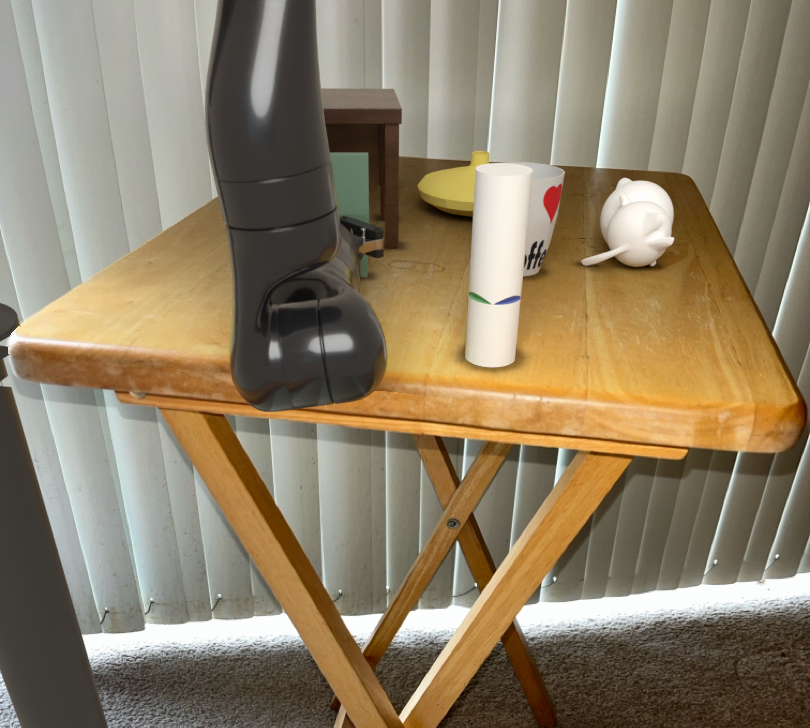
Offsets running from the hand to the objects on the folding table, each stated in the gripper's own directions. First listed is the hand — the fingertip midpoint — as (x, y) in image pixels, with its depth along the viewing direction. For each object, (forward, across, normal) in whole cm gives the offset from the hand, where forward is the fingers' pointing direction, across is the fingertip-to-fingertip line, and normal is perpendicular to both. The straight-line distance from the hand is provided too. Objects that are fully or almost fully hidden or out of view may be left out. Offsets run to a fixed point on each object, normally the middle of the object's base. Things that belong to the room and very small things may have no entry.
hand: (318, 216), depth 84 cm
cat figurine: (+6, -34, +6) cm, 35 cm away
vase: (+26, -20, +7) cm, 34 cm away
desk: (+17, 0, +6) cm, 18 cm away
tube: (-21, -15, +6) cm, 26 cm away
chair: (+5, 0, +6) cm, 8 cm away
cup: (+3, -21, +6) cm, 22 cm away
